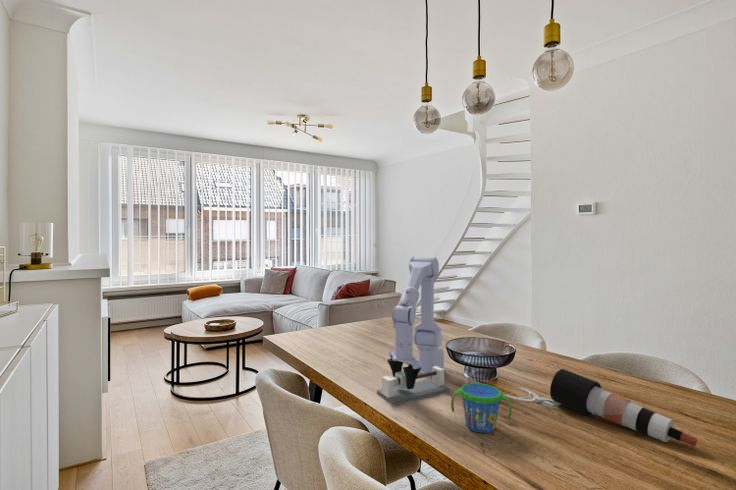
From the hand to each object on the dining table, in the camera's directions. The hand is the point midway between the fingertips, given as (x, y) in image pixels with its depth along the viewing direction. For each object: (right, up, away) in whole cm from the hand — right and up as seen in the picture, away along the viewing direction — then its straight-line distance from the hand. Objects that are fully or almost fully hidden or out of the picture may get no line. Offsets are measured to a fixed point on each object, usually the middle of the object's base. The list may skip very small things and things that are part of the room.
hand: (403, 384), depth 128 cm
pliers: (+40, -4, -3) cm, 41 cm away
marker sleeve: (0, 0, 0) cm, 0 cm away
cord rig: (+4, -3, +2) cm, 5 cm away
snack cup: (+19, -4, -22) cm, 29 cm away
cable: (+57, -4, -20) cm, 60 cm away
